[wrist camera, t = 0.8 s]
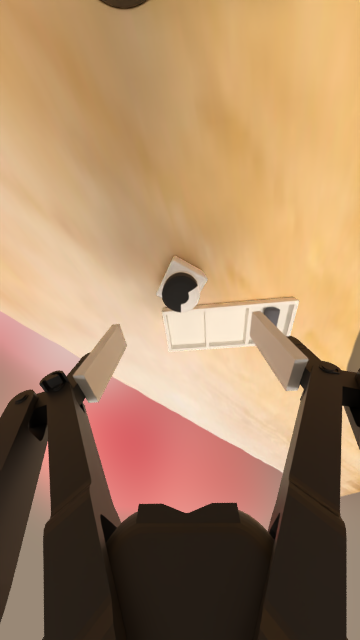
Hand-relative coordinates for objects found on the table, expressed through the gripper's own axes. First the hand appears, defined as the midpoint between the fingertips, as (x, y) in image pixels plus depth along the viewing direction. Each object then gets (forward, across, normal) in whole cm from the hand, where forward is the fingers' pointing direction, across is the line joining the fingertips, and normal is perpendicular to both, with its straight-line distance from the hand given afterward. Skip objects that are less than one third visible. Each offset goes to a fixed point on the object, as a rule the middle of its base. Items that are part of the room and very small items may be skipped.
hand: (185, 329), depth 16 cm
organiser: (+21, +9, -13) cm, 26 cm away
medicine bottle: (+22, -1, 0) cm, 22 cm away
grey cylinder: (+21, +19, -13) cm, 31 cm away
